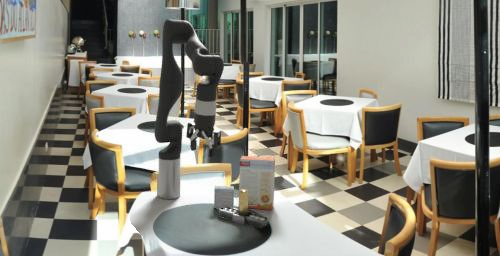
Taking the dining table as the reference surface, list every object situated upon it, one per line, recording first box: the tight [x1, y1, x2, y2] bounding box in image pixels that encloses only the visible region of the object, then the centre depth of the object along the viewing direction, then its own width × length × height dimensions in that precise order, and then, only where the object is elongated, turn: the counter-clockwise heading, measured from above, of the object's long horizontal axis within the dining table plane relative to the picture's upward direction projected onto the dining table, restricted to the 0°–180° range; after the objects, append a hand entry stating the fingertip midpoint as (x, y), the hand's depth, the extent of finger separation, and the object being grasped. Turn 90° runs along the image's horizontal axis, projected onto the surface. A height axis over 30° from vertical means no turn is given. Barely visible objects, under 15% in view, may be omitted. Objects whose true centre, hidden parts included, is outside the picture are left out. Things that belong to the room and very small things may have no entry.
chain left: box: [218, 206, 239, 222], centre depth 175 cm, size 7×5×3 cm
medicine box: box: [213, 185, 235, 209], centre depth 184 cm, size 8×4×9 cm, turn 92°
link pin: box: [238, 189, 249, 220], centre depth 171 cm, size 4×4×12 cm
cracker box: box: [238, 155, 276, 211], centre depth 185 cm, size 14×6×21 cm, turn 82°
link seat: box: [232, 210, 254, 226], centre depth 171 cm, size 5×7×3 cm
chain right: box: [245, 213, 269, 230], centre depth 168 cm, size 7×5×3 cm
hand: (202, 153), depth 165 cm, fingers open, 8 cm apart
